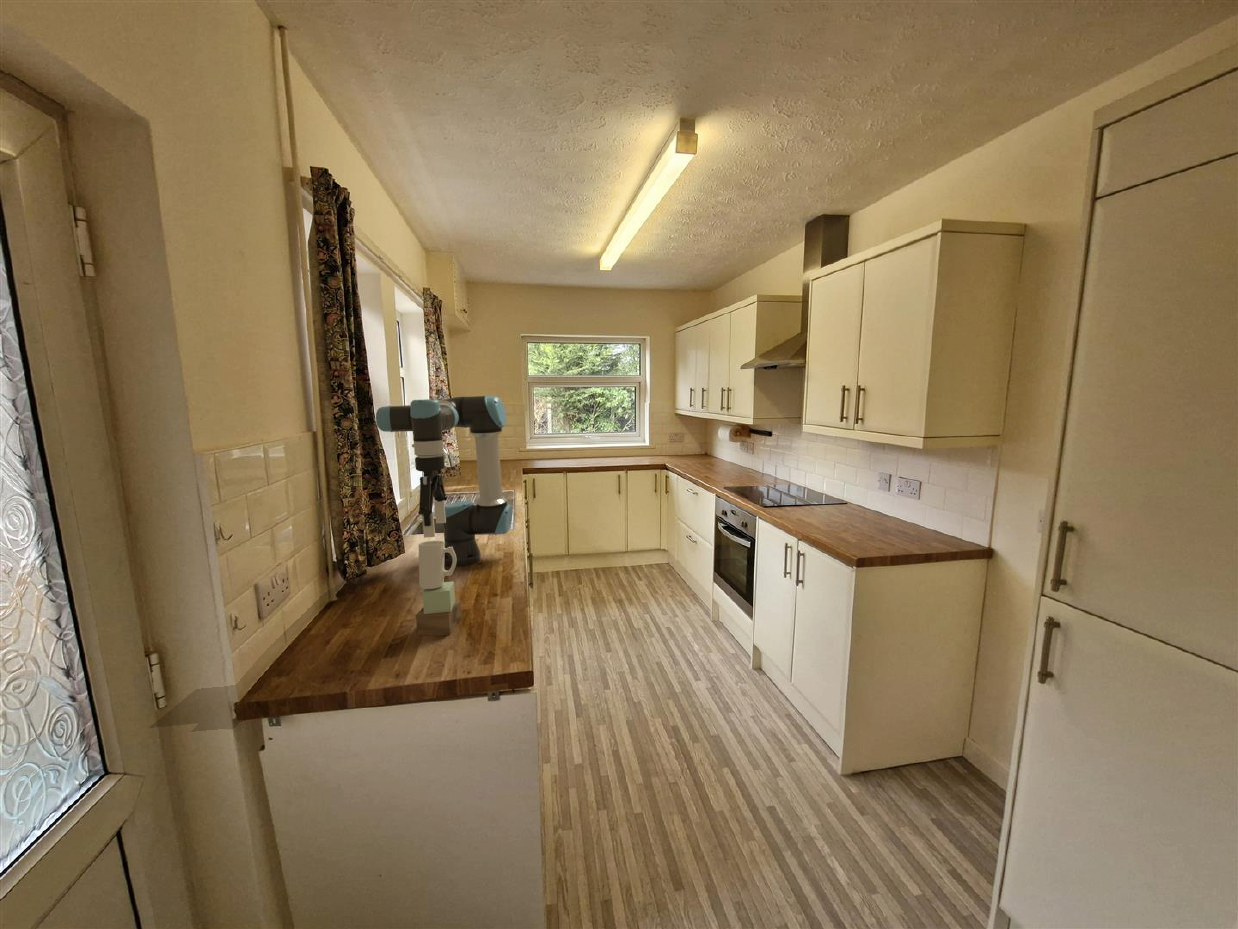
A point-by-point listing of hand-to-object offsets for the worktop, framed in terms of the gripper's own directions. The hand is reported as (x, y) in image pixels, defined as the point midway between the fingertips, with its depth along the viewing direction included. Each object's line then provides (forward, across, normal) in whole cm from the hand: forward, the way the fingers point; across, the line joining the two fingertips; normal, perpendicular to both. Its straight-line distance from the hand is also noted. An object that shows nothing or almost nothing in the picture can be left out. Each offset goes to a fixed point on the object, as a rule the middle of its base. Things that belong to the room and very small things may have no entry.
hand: (435, 529), depth 134 cm
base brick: (+27, +6, +1) cm, 28 cm away
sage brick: (+21, +6, +1) cm, 22 cm away
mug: (+15, +6, +1) cm, 16 cm away
